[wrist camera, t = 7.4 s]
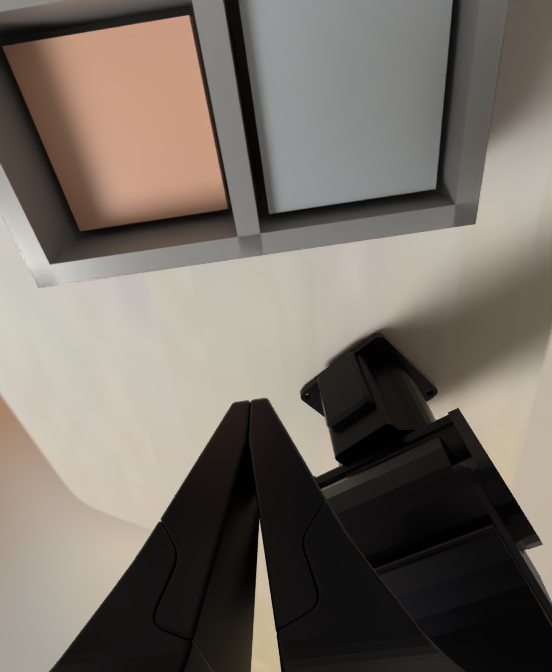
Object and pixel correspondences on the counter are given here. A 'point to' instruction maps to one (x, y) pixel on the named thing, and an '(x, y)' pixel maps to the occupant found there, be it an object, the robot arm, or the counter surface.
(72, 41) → the terracotta key
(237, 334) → the counter surface
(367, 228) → the grey compartment tray
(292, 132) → the slate key
